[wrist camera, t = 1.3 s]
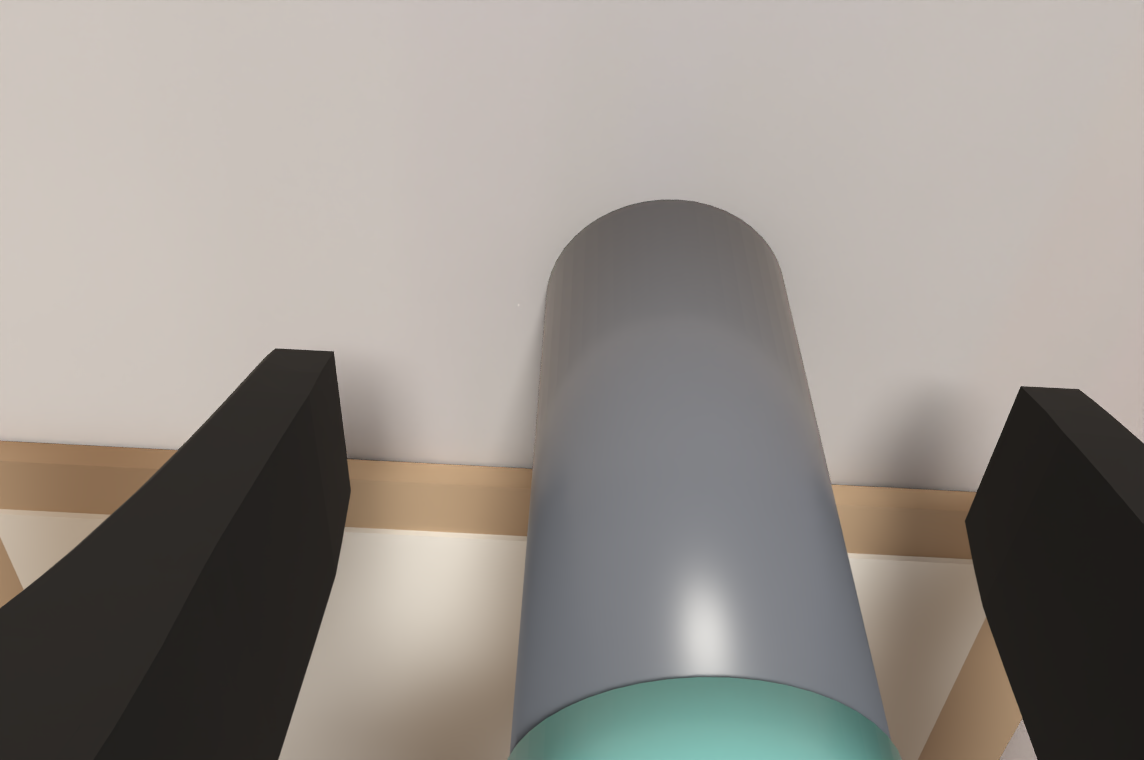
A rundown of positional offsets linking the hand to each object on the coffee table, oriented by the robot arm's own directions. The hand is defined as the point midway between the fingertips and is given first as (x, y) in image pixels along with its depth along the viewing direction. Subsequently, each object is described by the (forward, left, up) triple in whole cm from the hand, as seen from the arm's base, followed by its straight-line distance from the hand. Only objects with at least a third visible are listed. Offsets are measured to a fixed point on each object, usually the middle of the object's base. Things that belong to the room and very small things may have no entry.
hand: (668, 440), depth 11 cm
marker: (0, 0, -3) cm, 3 cm away
